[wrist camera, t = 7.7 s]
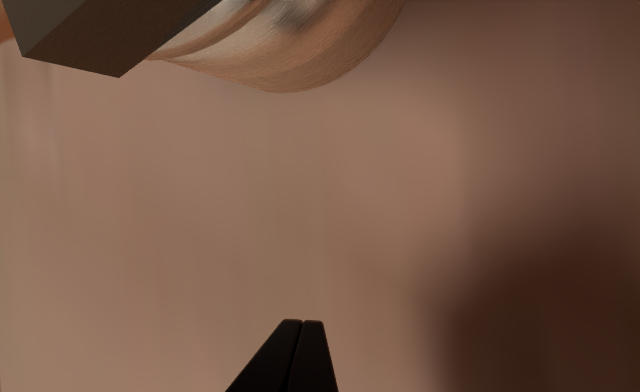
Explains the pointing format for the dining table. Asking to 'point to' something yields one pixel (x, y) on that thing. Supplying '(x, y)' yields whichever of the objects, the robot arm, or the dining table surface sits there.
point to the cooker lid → (123, 29)
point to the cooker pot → (297, 43)
